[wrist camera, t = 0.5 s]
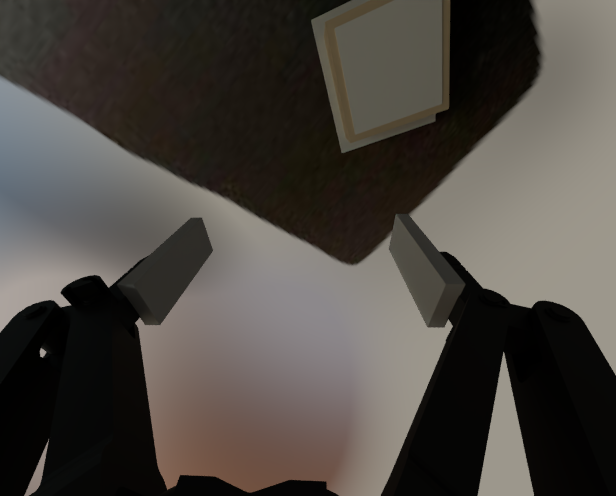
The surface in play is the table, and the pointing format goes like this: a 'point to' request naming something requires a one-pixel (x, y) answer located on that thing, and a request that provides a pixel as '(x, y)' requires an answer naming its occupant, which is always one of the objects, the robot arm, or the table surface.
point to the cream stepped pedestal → (384, 66)
